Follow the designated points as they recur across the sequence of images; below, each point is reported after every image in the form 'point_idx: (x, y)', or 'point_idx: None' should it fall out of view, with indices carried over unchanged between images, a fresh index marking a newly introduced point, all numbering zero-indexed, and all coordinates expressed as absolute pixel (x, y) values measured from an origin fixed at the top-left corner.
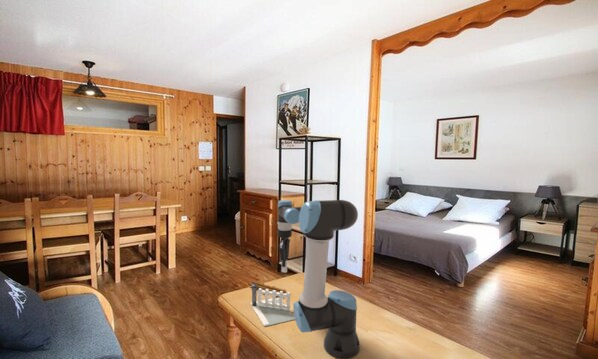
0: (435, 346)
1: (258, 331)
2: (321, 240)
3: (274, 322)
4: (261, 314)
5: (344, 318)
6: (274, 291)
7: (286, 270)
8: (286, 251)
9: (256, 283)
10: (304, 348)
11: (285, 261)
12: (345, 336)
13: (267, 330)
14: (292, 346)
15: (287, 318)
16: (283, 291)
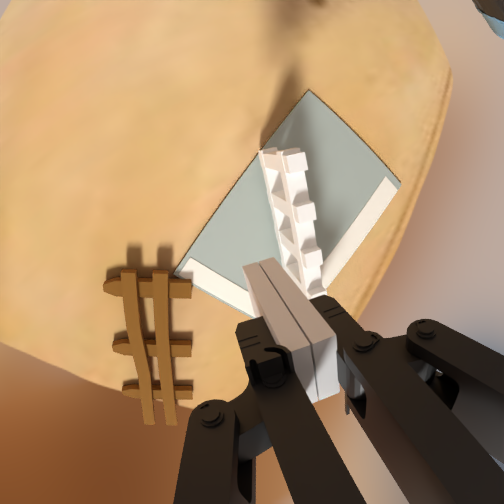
0: None
1: (421, 187)
2: None
3: (371, 162)
4: (347, 240)
5: None
6: (320, 251)
7: (271, 267)
8: (360, 501)
9: (153, 408)
10: (420, 29)
11: (333, 339)
12: None
13: (410, 162)
14: (430, 61)
15: (326, 127)
16: (135, 276)
